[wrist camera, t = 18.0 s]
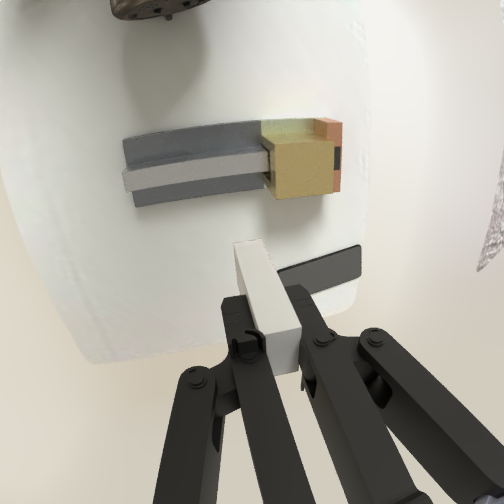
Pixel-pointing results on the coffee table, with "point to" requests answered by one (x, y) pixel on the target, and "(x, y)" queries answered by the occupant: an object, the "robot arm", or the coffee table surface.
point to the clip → (299, 164)
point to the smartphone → (324, 270)
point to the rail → (193, 146)
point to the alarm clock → (150, 8)
